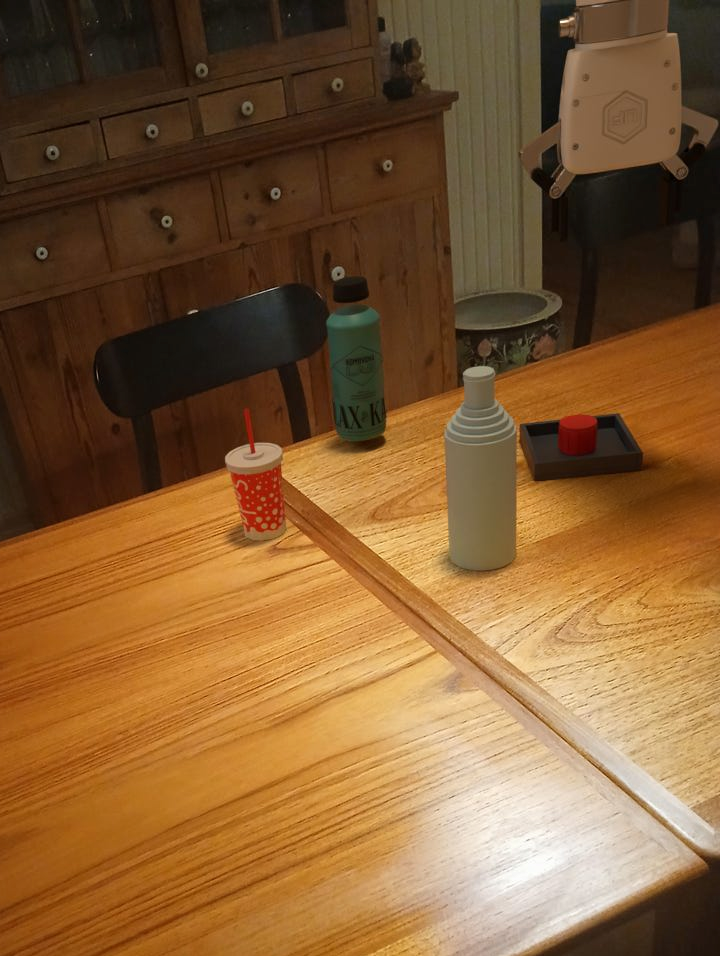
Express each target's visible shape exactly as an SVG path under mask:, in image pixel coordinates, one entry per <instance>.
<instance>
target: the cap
mask: <svg viewBox="0 0 720 956" xmlns="http://www.w3.org/2000/svg"><path fill="white" fill-rule="evenodd" d="M593 416H594V415H589V414H581V413H580V414H571V415H567V416H564V417H562V418H560V419H561V420H560V419H559V420H560V422H559V431H558V447H559V450H560V452H562V453H564V454H568V455H584V454H588V453H591V452H593V451H594V450H595V448H596V446H597V427H598V425H597V419H596V418H595V417H593Z"/></svg>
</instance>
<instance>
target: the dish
mask: <svg viewBox="0 0 720 956" xmlns="http://www.w3.org/2000/svg"><path fill="white" fill-rule="evenodd" d="M592 416H593V417H595V418H596V419H597V425H598V427H597V446H596V448H595V450H594V451H593V452H591V453H588V454H584V455H568V454H564V453H562V452H560V450H559V447H558V431H559V422H560V420H561V419H562V418H560V419H552V420H543V421H534V422H525V423H519V442H520V445H521V448H522V451H523V453H524V457H525V460H526V463H527V465H528V468H529V470H530V473H531V475H532V479H533V481H534V482H539V481H550V480H559V479H569V478H578V477H588V476H599V475H608V474H609V475H610V474H620V473H628V472H638V471H642V470H643V457H644V452H643V450H642V449H641V447H640V445H639V443H638V442H637V440H636V438H635V437H634V435H633V434H632V432H631V431H630V429H629V426H628V425H627V424H626V422H625V421H624V418H623V417H622V415H621V414H620V413H618V412H617V413H616V412H615V413H607V414H598V415H592Z"/></svg>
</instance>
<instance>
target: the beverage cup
mask: <svg viewBox="0 0 720 956" xmlns="http://www.w3.org/2000/svg"><path fill="white" fill-rule="evenodd" d="M243 412H244V417H245V418H244V419H245V424H246V431H247V437H248V442H249V443H247V444H244V445H241V446H238V447H236V448H233V449H232V450H230V451H229V452H227V454H226V455H225V456H224V462H225V466H226V469H227V470H228V471H229V474H230V478H231V482H232V487H233V491H234V495H235V499H236V504H237V507H238V511H239V516H240V520H241V523H242V528H243V532H244V536H245V537H246V538H247V539H249V540H253V541H260V542H261V541H262V542H263V541H269V540H273V539H276V538H278V537H280V536H282V535H283V534H284V533H285V532H286V530H287V524H286V522H287V521H286V511H285V499H284V497H285V496H284V484H283V469H282V462H283V461H284V457H283V455H284V454H283V449H282V448H283V447H280V445H278V444H275V443H271V442H255V439H254V435H253V428H252V422H251V415H250V408H248V407H245V408H244V410H243Z"/></svg>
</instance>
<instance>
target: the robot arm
mask: <svg viewBox="0 0 720 956" xmlns="http://www.w3.org/2000/svg"><path fill="white" fill-rule="evenodd" d="M669 5H670V0H575V6H576V7H574V8H573V12H572V13H571V15H568V16H567V17H566V18H561V19H559V20H558V23H557V24H558V25H557V34H558V37H559V38H563V37H567V38H571V39H572V40H573V43H575V44H574V48H571V49H569V50H568V51H567V54H566V58H565V64H564V68H563V75H562V82H561V90H560V91H561V92H560V97H559V111H558V121H557V122H556V123H555V124H553V125H552V126H551V127H549V128H548V129H547V130H545V131H544V132H542V133H541V134H540V135H538V136H537V137H536V138H534V139H533V140H531V141H529V142H528V143H527V144H525V146H523V147H521V148H520V149H519V151H518V157H519V159H520V161H521V163H522V165H523V167H524V168H525V171H526V172H527V174H528V176H529V178H530V180H532V182H534V183H535V184H536V185H537V186H538V187H539V188H540V189H542V191H544V192H545V193H546V194H547V195H548V231H549V233H554V237H555V238H556V240H557V241H558V242H559V243H564V242H566V241H568V239H569V198H568V196H566V189H567V188H568V187H569V185H570V184H571V182H573V180H574V179H575V177H576V176H577V175H587V174H594V173H601V172H602V173H603V172H609V171H614V170H620V169H629V168H634V167H639V166H646V165H652V164H657V163H658V164H659V165H660V167H662V168H663V169H664V175H662V176H661V177H660V179H659V188H658V189H659V191H658V206H657V209H658V210H657V221H658V222H660V223H661V224H662V225H664V226H666V227H673V226H674V225H675V219H676V218H675V217H676V215H677V214H681V213H680V212H681V207H682V206H681V205H682V195H683V194H682V192H683V180H684V179H685V178H686V177H687V176H688V174H689V171H690V170H691V169H692V168H694V166H695V165H696V164H697V162H698V161H699V160H700V159H701V158H702V157H703V156H704V155H705V153H706V149H707V147H708V145H709V144H710V142H711V140H712V138H713V137H714V135H715V133H716V131H717V130H718V127H719V120H718V119H717V118H715V117H712V116H710V115H707V114H704V113H702V112H700V111H697V110H694V109H691V108H689V107H687V106H684V105H682V69H681V53H680V43H679V38H678V37H679V36H678V33H675V32H668V25H669ZM682 124H684V125H686V126H688V127H692V128H693V129H694V135H693V136H692V139H691V141H690V142H689V143H688V144H687V146H686V147H685V148H684V149H682V151H681V152H680V153H679V154H677V153H678V151H679V149H680V145H681V139H682V137H681V135H682ZM554 145H556V154H557V156H556V157H557V161H558V163H559V165H558V166H557V168H556V169H555V170H554V172H553V173H552V174H551V176H550V175H549V174H548V173H547V172H546V171H545V169H544V168H543V167H542V165H541V163H540V161H539V159H540V156H541V155H542V154H543V153H545V152H546V151H547V150H548V149H550V148H551V147H553V146H554Z"/></svg>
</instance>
